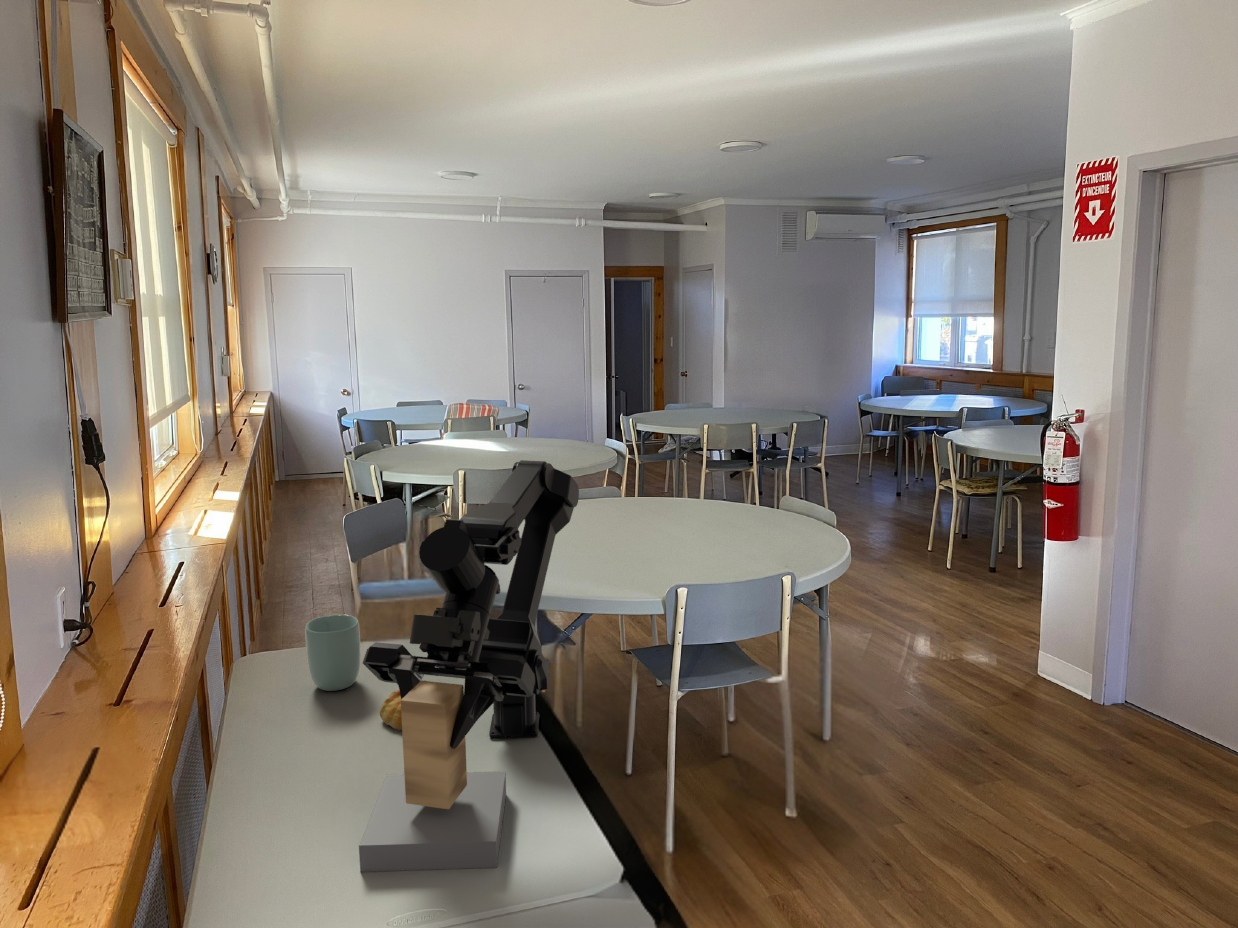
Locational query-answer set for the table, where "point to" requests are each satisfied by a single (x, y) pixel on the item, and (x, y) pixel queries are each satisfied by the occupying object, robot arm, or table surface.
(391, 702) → the pastry
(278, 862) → the table surface
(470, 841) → the plinth
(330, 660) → the cup
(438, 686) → the oak block
